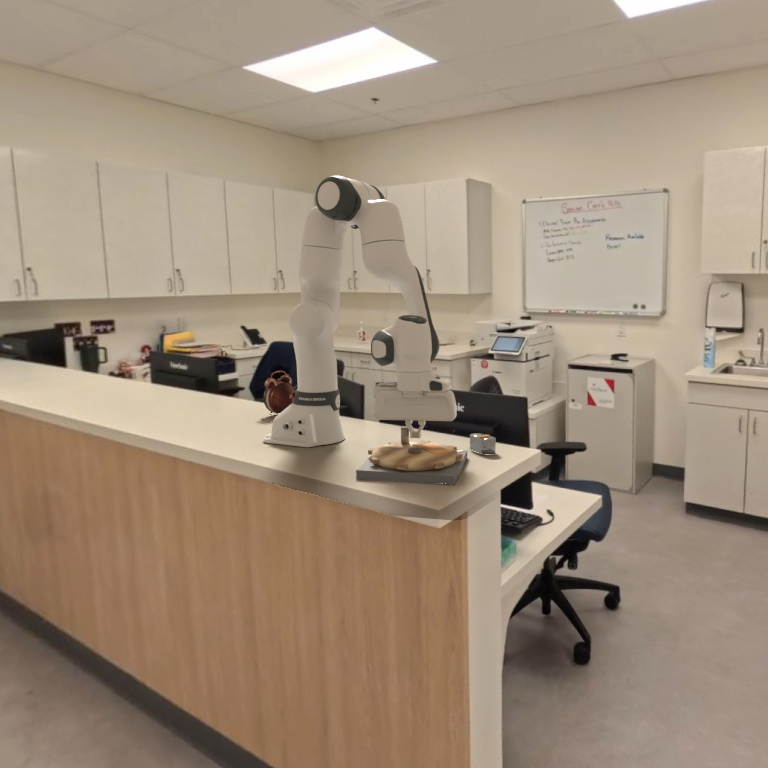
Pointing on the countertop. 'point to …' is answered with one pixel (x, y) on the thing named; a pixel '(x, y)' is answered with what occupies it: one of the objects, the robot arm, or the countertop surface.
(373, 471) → the index base
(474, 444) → the silver toaster
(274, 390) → the alarm clock
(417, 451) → the sprocket disc
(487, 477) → the countertop surface
